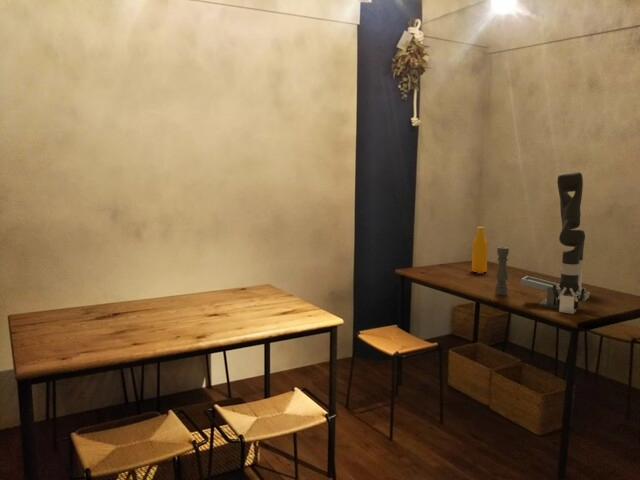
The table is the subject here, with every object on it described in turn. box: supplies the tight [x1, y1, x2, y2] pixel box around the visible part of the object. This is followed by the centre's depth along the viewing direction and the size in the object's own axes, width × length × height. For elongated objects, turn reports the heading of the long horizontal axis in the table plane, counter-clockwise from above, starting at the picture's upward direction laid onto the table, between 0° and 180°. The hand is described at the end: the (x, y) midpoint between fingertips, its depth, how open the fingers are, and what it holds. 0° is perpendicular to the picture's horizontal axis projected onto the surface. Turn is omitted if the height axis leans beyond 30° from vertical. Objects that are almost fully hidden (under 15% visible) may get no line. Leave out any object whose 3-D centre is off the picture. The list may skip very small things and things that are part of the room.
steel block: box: [558, 294, 577, 315], centre depth 246 cm, size 6×6×8 cm
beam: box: [519, 275, 591, 302], centre depth 258 cm, size 9×30×3 cm, turn 52°
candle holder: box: [494, 246, 510, 296], centre depth 280 cm, size 6×6×25 cm
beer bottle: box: [471, 226, 488, 273], centre depth 336 cm, size 9×9×29 cm
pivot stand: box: [538, 288, 560, 310], centre depth 259 cm, size 12×10×9 cm
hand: (567, 307), depth 246 cm, fingers closed on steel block, 6 cm apart
